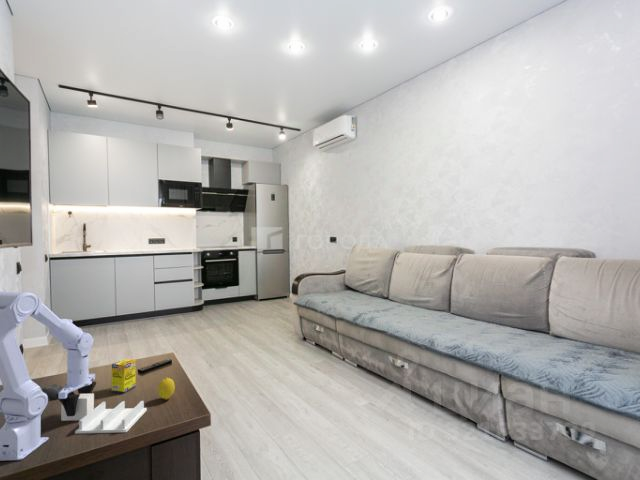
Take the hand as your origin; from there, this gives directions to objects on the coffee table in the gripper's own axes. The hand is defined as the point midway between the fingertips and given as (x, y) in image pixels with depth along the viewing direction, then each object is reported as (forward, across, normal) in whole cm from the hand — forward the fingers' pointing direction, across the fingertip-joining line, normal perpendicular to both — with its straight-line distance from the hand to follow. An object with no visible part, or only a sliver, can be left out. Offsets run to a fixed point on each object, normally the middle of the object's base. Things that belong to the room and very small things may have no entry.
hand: (77, 410), depth 108 cm
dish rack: (+2, -3, -13) cm, 14 cm away
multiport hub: (+3, +17, +20) cm, 26 cm away
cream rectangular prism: (+2, 0, 0) cm, 2 cm away
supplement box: (+2, +20, -4) cm, 21 cm away
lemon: (+2, +11, -24) cm, 27 cm away
